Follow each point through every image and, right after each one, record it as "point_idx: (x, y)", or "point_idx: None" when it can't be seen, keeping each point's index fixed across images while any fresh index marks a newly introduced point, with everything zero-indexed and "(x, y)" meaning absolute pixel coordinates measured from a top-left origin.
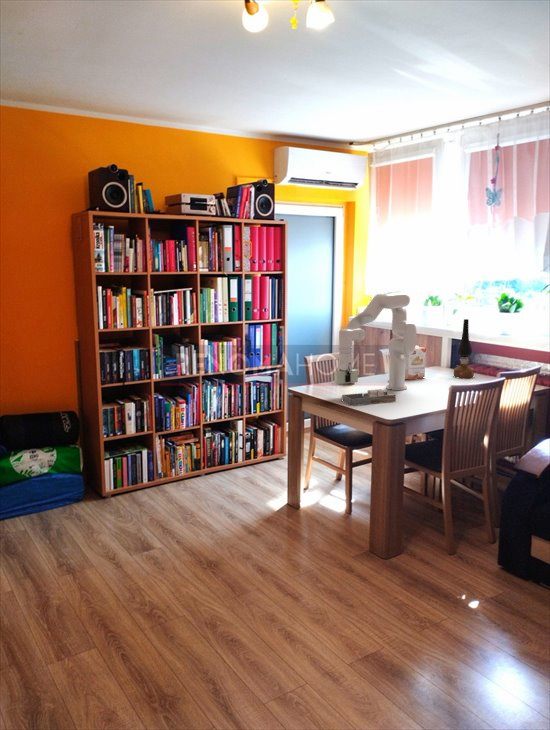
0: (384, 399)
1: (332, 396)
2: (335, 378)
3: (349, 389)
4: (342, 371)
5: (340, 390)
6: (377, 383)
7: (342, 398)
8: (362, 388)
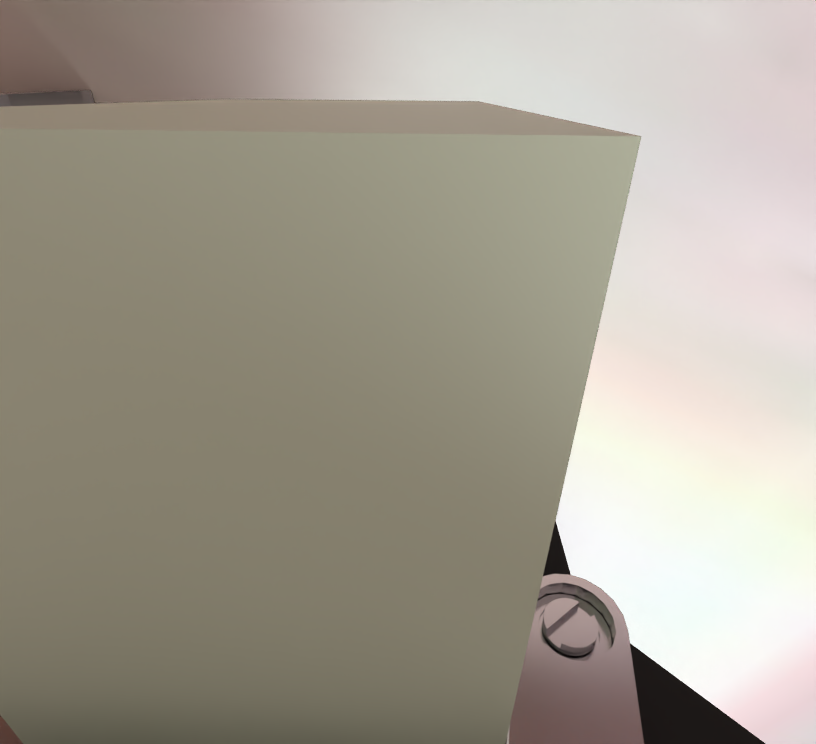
0: None
1: (492, 56)
2: (349, 104)
3: (771, 492)
4: (104, 697)
5: (810, 376)
6: (794, 739)
7: (42, 92)
8: (711, 604)
